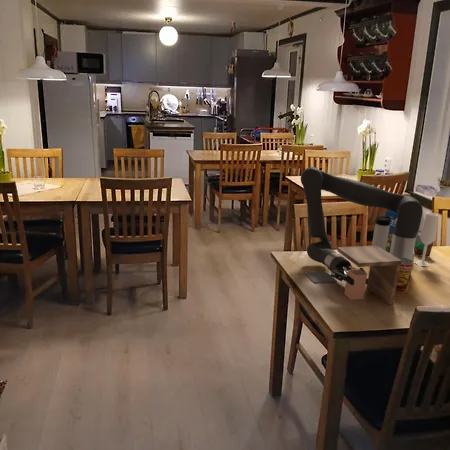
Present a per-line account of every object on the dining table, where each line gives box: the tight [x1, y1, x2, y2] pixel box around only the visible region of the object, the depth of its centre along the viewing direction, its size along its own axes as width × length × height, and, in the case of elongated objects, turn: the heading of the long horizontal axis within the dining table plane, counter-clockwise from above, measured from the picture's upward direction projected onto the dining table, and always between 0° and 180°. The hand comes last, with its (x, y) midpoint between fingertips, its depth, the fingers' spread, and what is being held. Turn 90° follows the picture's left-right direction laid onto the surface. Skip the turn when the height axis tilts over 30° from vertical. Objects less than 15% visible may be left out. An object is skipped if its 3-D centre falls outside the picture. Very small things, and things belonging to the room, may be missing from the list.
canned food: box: [396, 257, 414, 293], centre depth 179 cm, size 8×8×12 cm
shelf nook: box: [336, 245, 401, 306], centre depth 169 cm, size 17×16×18 cm
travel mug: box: [371, 215, 392, 250], centre depth 209 cm, size 6×7×20 cm
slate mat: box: [303, 270, 338, 284], centre depth 187 cm, size 10×10×1 cm
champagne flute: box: [414, 212, 439, 267], centre depth 204 cm, size 7×7×24 cm
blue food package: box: [384, 209, 398, 253], centre depth 218 cm, size 6×12×25 cm, turn 48°
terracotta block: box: [344, 268, 368, 301], centre depth 170 cm, size 5×5×10 cm
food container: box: [413, 229, 434, 257], centre depth 220 cm, size 12×6×10 cm, turn 5°
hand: (360, 282), depth 167 cm, fingers closed on terracotta block, 5 cm apart
